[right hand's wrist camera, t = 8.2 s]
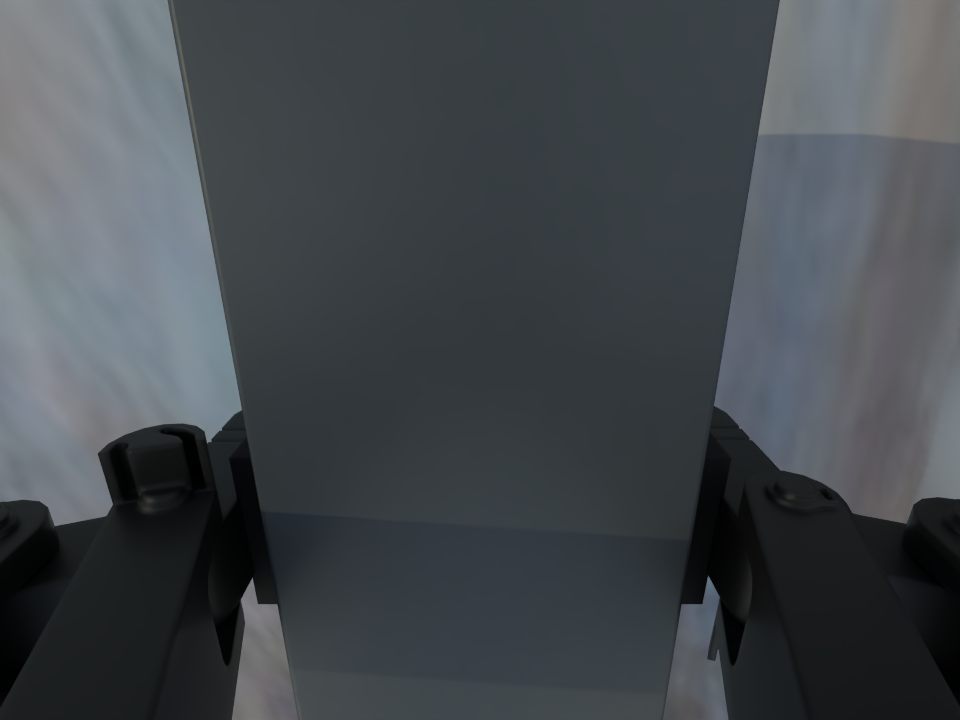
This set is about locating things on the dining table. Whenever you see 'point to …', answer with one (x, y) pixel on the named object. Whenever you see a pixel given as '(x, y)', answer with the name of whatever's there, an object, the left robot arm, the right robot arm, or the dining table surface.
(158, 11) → the dining table surface
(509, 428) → the beam
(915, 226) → the dining table surface
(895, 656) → the right robot arm
